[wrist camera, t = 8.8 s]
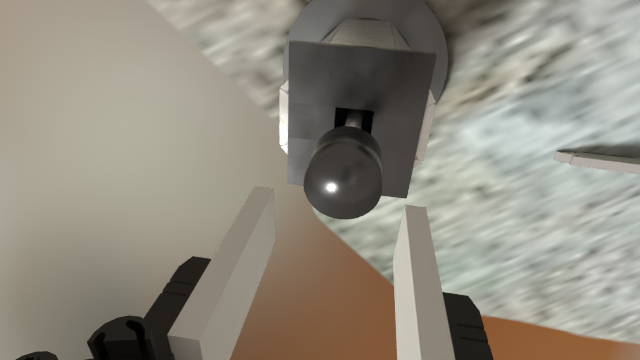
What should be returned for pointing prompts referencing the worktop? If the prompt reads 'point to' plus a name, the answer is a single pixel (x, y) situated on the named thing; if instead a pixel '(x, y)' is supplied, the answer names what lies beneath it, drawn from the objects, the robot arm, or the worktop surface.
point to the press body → (359, 97)
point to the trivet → (383, 4)
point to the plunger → (345, 168)
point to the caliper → (599, 161)
